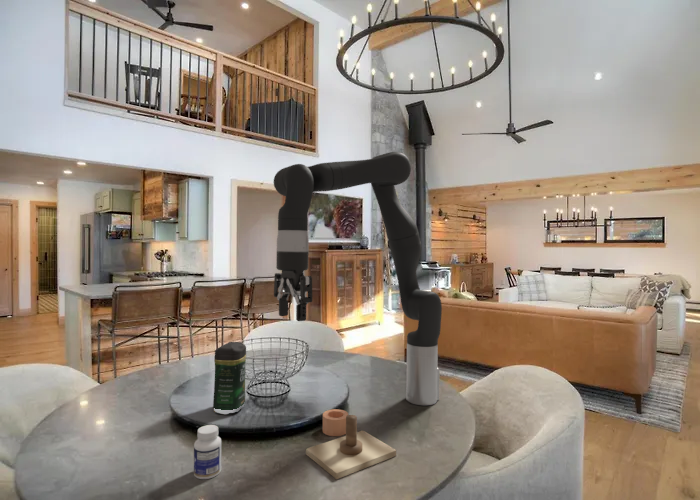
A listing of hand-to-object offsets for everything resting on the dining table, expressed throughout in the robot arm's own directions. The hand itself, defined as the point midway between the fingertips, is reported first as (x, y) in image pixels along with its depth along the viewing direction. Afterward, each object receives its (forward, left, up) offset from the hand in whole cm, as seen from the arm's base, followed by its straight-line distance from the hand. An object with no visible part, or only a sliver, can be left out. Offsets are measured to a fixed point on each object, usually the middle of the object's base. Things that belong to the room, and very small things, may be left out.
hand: (291, 318), depth 96 cm
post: (-8, +14, -28) cm, 32 cm away
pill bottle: (+20, +3, -29) cm, 36 cm away
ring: (-12, +2, -29) cm, 31 cm away
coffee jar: (+5, -26, -29) cm, 40 cm away
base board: (-8, +14, -29) cm, 33 cm away
